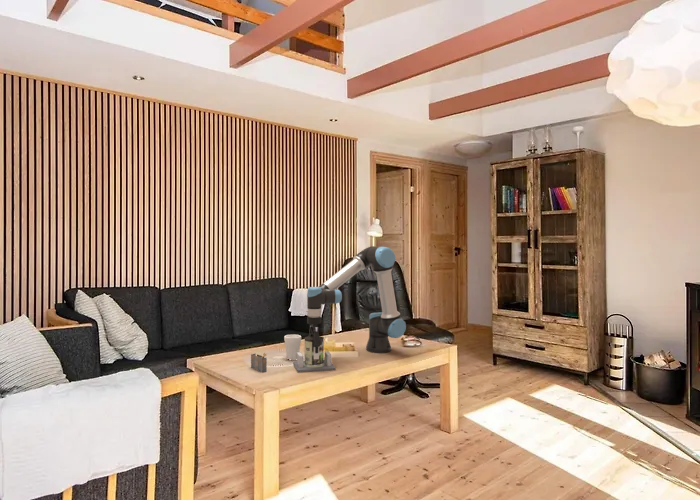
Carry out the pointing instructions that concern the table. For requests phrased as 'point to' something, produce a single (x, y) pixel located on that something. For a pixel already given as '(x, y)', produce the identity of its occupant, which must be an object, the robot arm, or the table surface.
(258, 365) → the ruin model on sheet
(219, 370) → the table surface
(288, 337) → the foam cup
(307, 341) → the coffee can
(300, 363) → the holder
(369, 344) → the robot arm
